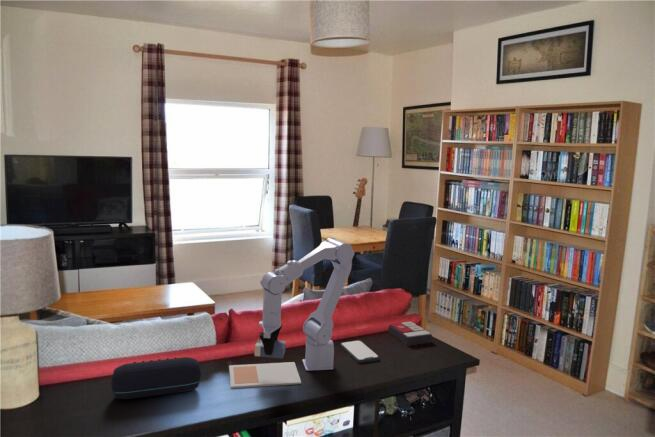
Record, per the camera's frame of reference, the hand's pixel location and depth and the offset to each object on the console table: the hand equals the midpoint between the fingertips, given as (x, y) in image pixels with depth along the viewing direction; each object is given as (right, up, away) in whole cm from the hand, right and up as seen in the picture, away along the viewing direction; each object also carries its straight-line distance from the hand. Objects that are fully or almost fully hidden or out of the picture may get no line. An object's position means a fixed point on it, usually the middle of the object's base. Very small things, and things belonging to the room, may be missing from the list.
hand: (270, 350), depth 167 cm
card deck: (0, -1, 0) cm, 1 cm away
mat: (-2, -9, +2) cm, 9 cm away
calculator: (+51, -5, +39) cm, 64 cm away
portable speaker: (-33, -10, -12) cm, 36 cm away
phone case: (+30, -7, +23) cm, 38 cm away
